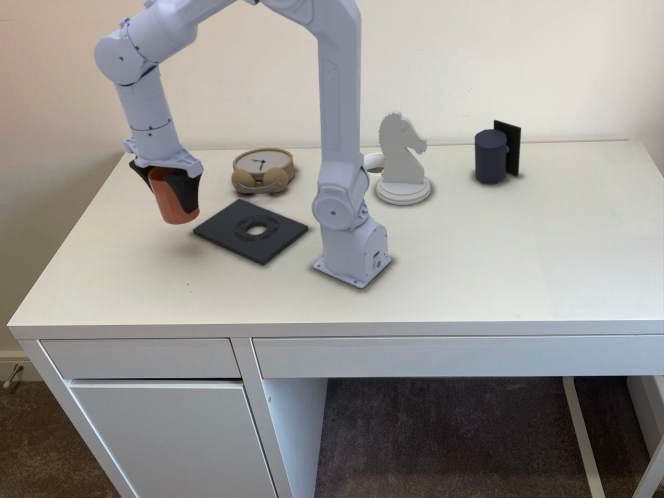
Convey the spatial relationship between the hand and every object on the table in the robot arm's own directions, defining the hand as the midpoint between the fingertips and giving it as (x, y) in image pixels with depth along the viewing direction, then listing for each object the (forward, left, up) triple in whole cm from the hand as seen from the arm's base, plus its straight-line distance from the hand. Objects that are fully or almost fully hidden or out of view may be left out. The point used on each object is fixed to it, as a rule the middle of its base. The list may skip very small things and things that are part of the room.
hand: (178, 204), depth 88 cm
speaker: (-32, -44, -9) cm, 55 cm away
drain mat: (-5, -8, -8) cm, 13 cm away
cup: (0, 0, -2) cm, 2 cm away
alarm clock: (+4, -21, -9) cm, 23 cm away
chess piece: (-20, -32, -9) cm, 39 cm away
